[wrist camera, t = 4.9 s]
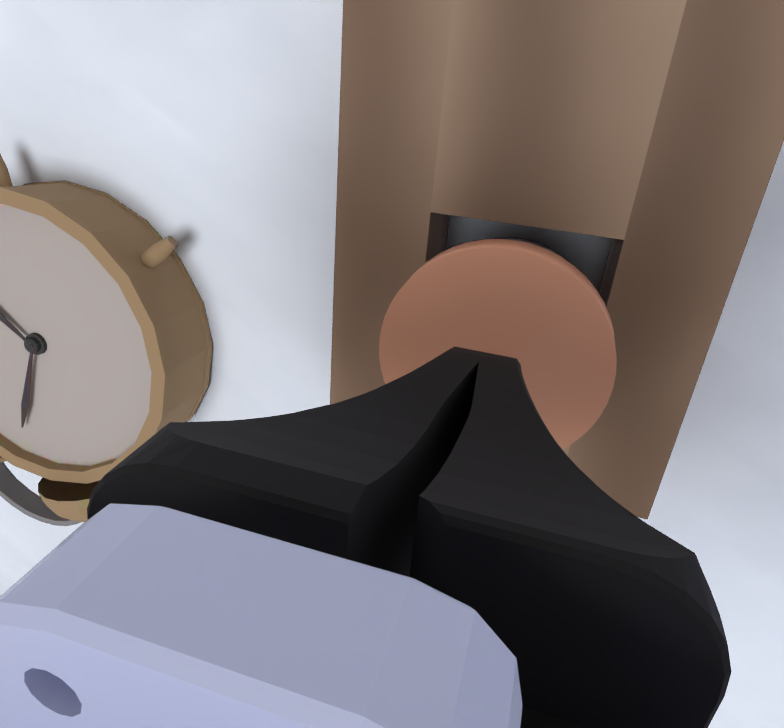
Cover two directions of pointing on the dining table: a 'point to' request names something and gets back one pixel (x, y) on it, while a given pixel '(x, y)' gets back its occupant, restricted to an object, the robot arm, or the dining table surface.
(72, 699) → the robot arm
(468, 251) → the terracotta plunger
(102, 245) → the alarm clock
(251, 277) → the dining table surface
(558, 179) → the button panel
